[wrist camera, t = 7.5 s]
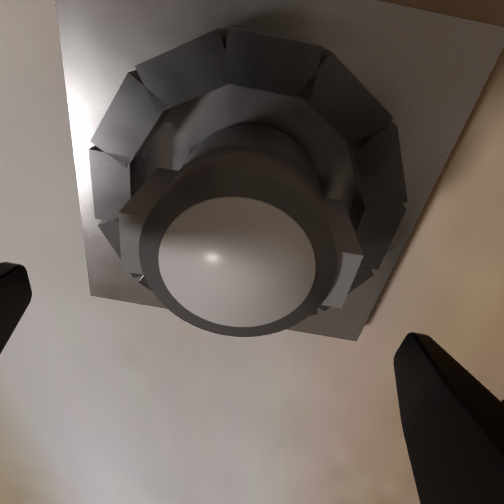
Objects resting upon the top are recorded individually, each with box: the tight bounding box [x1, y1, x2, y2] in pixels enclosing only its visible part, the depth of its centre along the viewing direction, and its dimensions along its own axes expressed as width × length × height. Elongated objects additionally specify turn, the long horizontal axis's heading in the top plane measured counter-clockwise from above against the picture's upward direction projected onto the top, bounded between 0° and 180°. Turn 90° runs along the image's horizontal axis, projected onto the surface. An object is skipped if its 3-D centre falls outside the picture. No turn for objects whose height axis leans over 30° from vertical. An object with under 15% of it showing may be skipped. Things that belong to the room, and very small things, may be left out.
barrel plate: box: [56, 0, 504, 341], centre depth 14 cm, size 14×14×3 cm
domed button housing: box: [118, 124, 364, 337], centre depth 12 cm, size 7×6×5 cm
